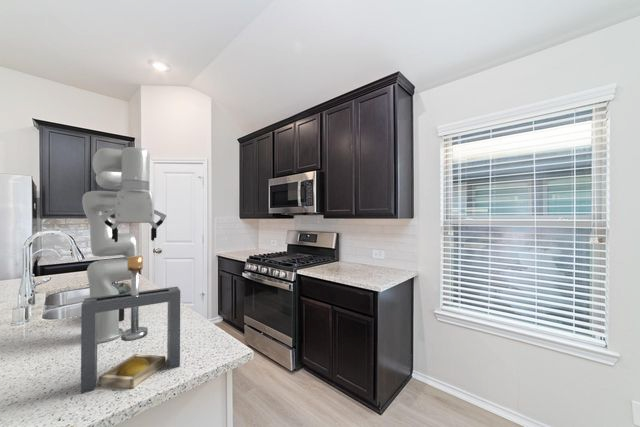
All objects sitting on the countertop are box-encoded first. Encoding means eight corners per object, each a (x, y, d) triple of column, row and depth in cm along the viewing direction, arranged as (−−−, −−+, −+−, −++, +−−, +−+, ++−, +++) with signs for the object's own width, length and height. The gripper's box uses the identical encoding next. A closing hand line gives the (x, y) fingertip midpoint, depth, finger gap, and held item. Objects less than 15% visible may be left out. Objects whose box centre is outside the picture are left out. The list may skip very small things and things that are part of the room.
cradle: (98, 385, 81) (98, 376, 81) (134, 361, 95) (134, 353, 95) (133, 388, 80) (133, 379, 80) (165, 363, 93) (165, 356, 93)
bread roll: (121, 386, 81) (121, 372, 81) (118, 373, 88) (118, 360, 88) (153, 375, 87) (153, 362, 87) (148, 363, 93) (148, 352, 93)
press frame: (84, 381, 83) (84, 298, 83) (176, 357, 97) (177, 286, 97) (80, 394, 77) (81, 304, 77) (179, 366, 91) (180, 291, 92)
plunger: (121, 334, 88) (121, 256, 88) (147, 329, 92) (147, 254, 92) (120, 343, 82) (121, 259, 83) (148, 337, 86) (148, 257, 87)
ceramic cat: (127, 320, 131) (128, 278, 131) (110, 324, 126) (111, 280, 126) (117, 311, 144) (117, 272, 144) (101, 314, 139) (101, 274, 139)
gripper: (99, 184, 80) (99, 243, 80) (167, 188, 90) (167, 240, 90) (101, 186, 86) (101, 241, 86) (165, 189, 96) (164, 238, 96)
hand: (134, 241), depth 88 cm, fingers open, 9 cm apart
